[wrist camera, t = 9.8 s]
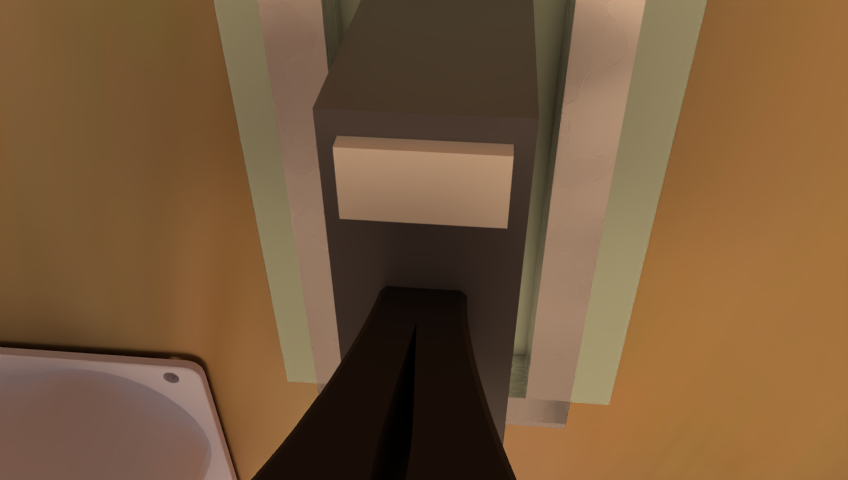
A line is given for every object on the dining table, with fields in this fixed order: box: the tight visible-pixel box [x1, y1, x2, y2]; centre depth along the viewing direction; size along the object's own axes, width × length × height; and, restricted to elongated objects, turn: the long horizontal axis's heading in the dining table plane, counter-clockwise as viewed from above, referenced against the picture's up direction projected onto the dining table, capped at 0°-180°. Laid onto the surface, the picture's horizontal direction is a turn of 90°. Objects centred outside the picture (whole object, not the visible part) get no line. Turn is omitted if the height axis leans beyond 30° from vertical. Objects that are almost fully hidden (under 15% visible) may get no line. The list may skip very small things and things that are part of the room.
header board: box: [213, 0, 707, 429], centre depth 16 cm, size 10×18×2 cm, turn 1°
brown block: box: [312, 0, 539, 445], centre depth 14 cm, size 3×8×6 cm, turn 0°
